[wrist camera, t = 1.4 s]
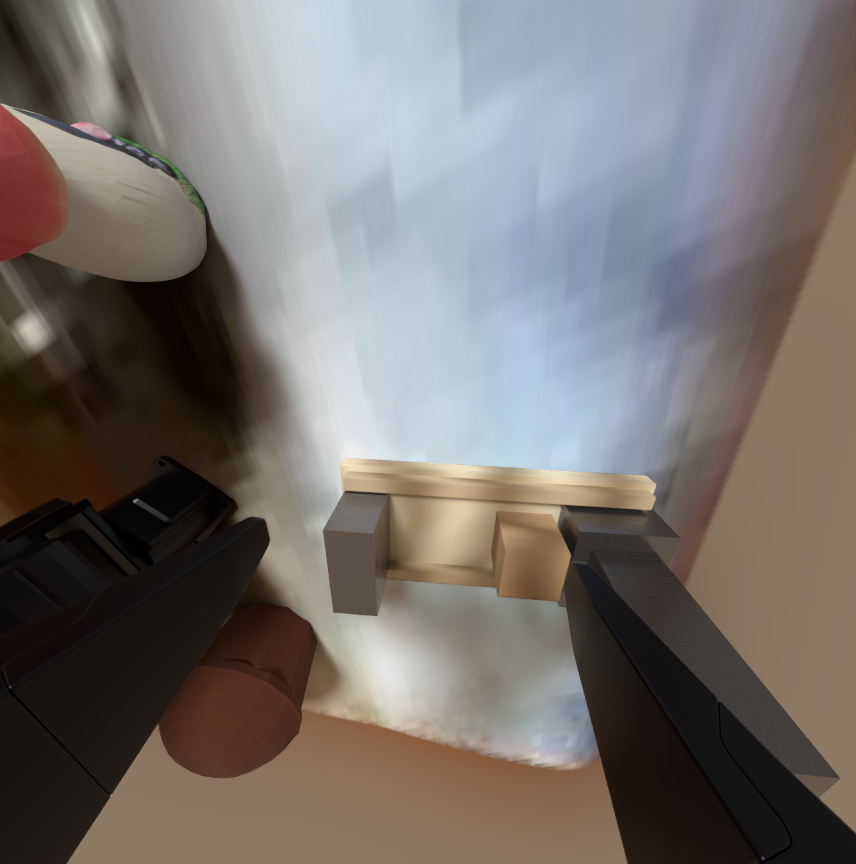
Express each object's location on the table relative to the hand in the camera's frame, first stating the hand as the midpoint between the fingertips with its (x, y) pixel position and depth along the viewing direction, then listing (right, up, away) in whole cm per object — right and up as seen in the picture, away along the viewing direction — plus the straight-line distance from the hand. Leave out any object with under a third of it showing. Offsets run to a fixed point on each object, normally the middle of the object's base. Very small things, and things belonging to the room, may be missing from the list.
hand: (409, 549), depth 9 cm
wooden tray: (+5, -4, +16) cm, 17 cm away
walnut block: (+8, -4, +15) cm, 17 cm away
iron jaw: (-4, -4, +15) cm, 16 cm away
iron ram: (+13, -5, +14) cm, 20 cm away
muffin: (-15, -17, +23) cm, 33 cm away
